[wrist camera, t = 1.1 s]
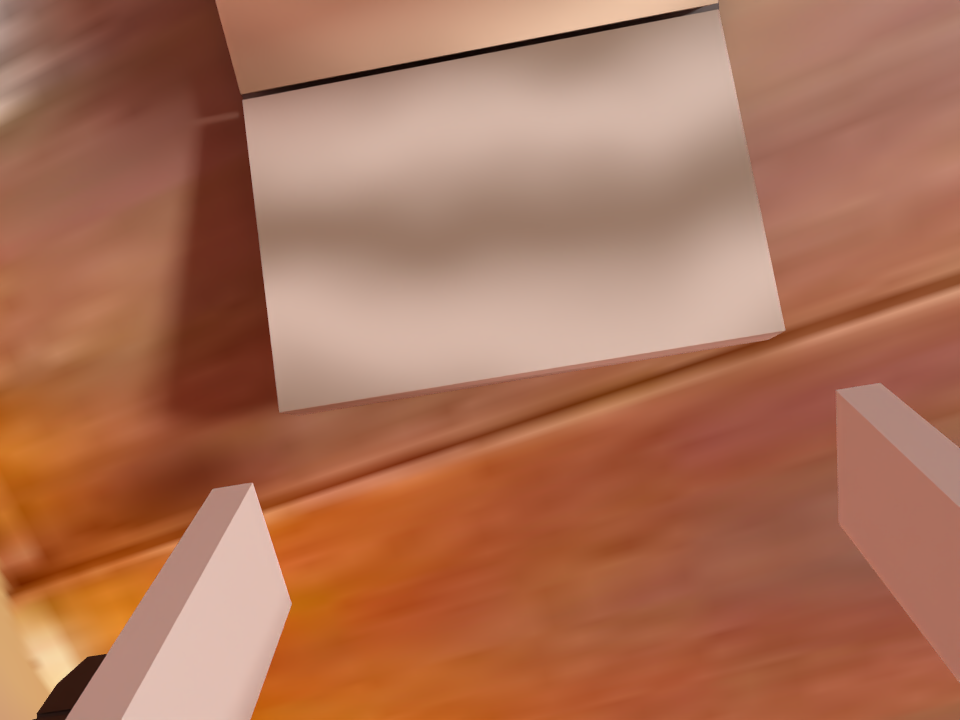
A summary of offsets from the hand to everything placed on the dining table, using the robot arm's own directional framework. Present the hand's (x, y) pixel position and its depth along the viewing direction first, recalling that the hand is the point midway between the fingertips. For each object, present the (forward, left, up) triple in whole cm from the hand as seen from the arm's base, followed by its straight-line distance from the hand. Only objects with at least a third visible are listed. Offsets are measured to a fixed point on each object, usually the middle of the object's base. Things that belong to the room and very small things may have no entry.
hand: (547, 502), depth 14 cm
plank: (-3, 0, -13) cm, 13 cm away
